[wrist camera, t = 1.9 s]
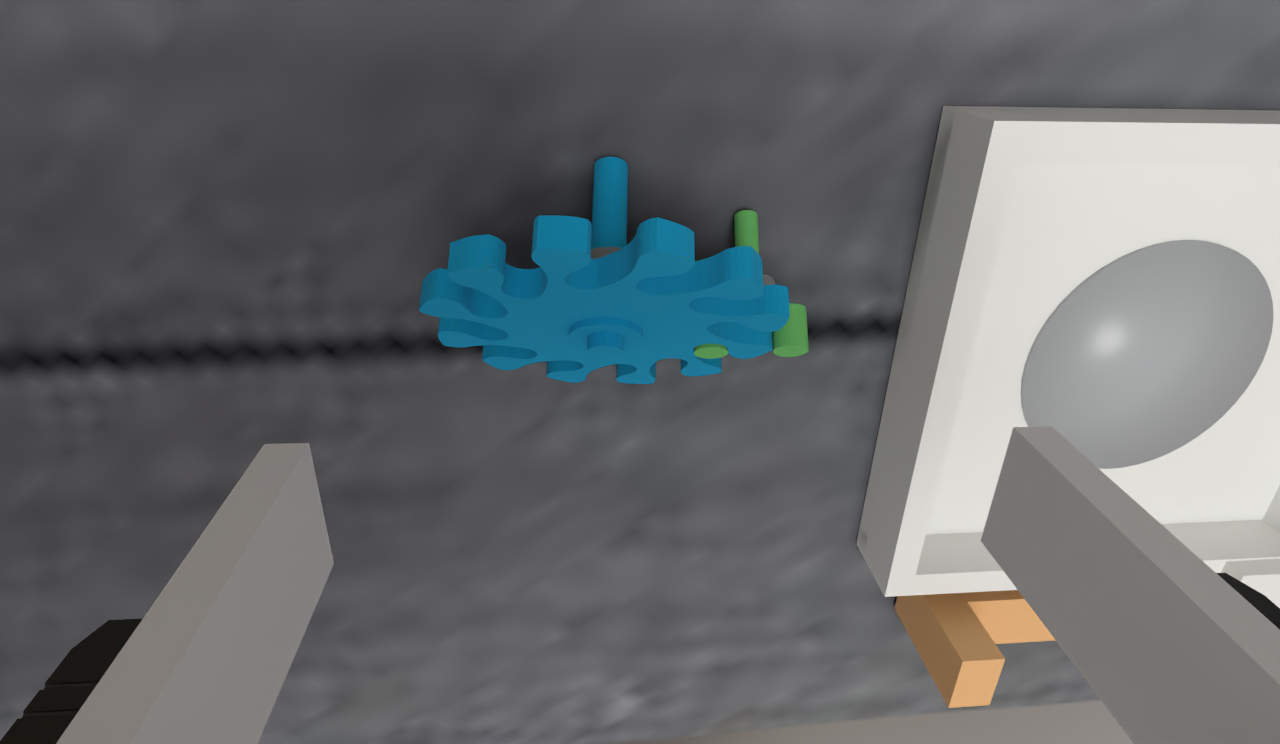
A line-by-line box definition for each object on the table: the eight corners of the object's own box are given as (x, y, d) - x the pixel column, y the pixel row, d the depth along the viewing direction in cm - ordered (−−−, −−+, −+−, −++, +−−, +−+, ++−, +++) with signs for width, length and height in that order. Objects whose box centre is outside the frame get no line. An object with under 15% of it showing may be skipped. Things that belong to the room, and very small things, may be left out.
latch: (894, 608, 32) (948, 707, 28) (904, 565, 31) (962, 661, 26) (1085, 598, 33) (1168, 692, 28) (1102, 556, 32) (1190, 647, 27)
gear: (406, 381, 23) (435, 239, 14) (426, 214, 25) (462, -4, 16) (724, 415, 27) (907, 320, 18) (721, 267, 29) (886, 112, 20)
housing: (838, 633, 33) (870, 706, 29) (943, 105, 23) (1010, 125, 19) (1215, 611, 34) (1286, 679, 31) (1466, 113, 24) (1613, 132, 21)
